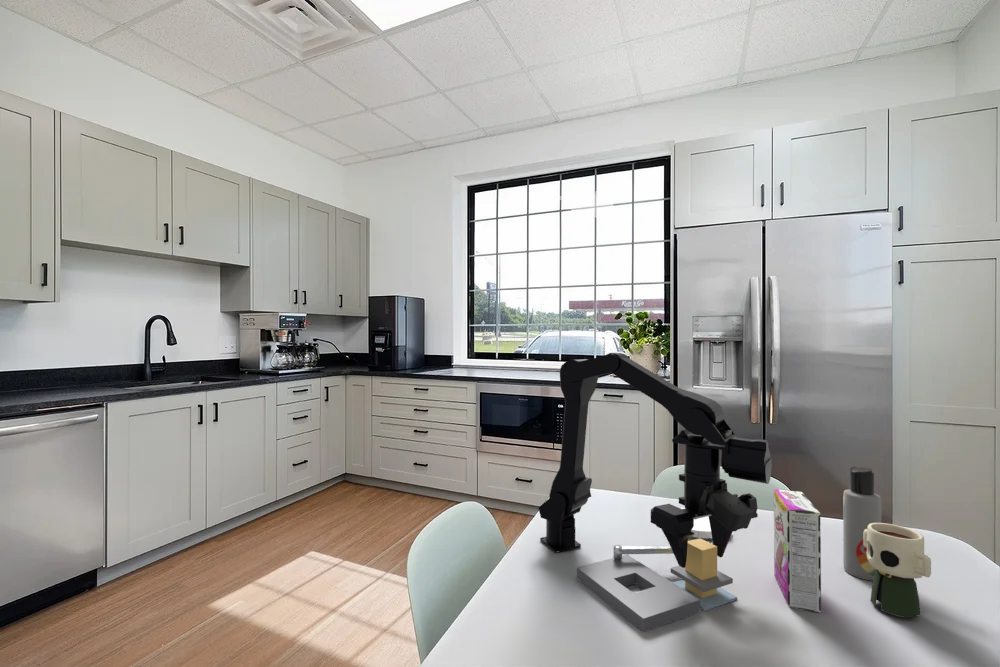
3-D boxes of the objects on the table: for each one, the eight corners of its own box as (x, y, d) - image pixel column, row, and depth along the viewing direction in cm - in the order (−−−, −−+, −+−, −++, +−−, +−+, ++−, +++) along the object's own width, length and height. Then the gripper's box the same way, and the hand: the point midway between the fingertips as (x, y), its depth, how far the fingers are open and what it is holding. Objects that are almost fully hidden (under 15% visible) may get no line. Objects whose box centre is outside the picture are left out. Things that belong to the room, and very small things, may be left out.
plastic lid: (656, 532, 105) (656, 521, 105) (672, 513, 116) (672, 504, 116) (723, 549, 97) (723, 537, 97) (733, 527, 108) (733, 516, 108)
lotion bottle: (888, 582, 83) (888, 473, 84) (853, 579, 84) (853, 471, 85) (870, 567, 89) (870, 465, 89) (837, 564, 90) (837, 463, 90)
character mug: (846, 593, 79) (846, 518, 80) (882, 591, 80) (882, 517, 81) (909, 633, 69) (909, 546, 69) (950, 630, 70) (950, 544, 70)
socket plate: (576, 578, 83) (576, 567, 83) (627, 564, 88) (627, 554, 88) (643, 632, 68) (643, 618, 68) (699, 612, 73) (700, 599, 73)
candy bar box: (771, 575, 85) (772, 487, 86) (803, 580, 84) (803, 491, 84) (786, 608, 75) (787, 507, 75) (822, 614, 73) (822, 512, 73)
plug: (670, 584, 81) (670, 539, 81) (698, 576, 84) (698, 533, 84) (703, 605, 74) (703, 556, 74) (732, 596, 77) (732, 548, 77)
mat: (666, 586, 81) (666, 584, 81) (698, 576, 84) (698, 574, 84) (704, 610, 74) (704, 608, 74) (737, 599, 77) (737, 596, 77)
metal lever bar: (615, 560, 85) (615, 548, 85) (612, 556, 87) (612, 544, 87) (707, 559, 86) (707, 547, 87) (703, 555, 88) (703, 543, 88)
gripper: (703, 492, 68) (702, 597, 68) (781, 478, 76) (780, 571, 76) (648, 472, 78) (647, 564, 78) (722, 461, 86) (722, 544, 86)
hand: (701, 561), depth 79 cm, fingers open, 9 cm apart
